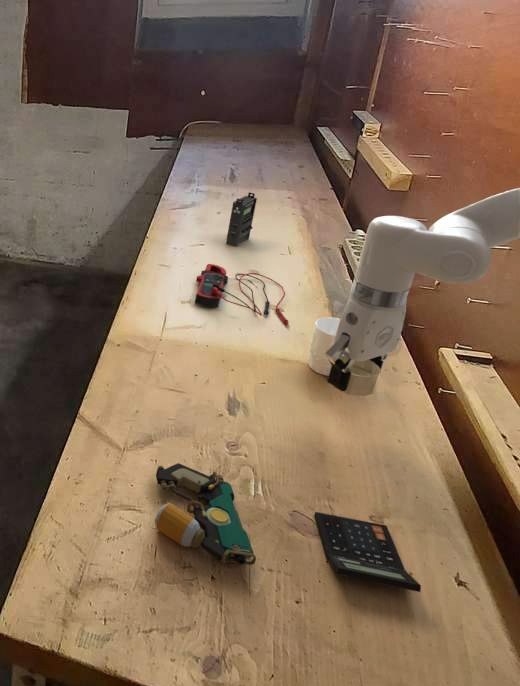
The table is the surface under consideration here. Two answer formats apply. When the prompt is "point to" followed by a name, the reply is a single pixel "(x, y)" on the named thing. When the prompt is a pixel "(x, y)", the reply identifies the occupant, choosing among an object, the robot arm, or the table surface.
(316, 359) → the white cup
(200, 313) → the table surface
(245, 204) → the geiger counter
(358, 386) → the bowl
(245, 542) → the spray gun
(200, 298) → the digital clamp meter
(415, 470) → the table surface
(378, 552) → the calculator
